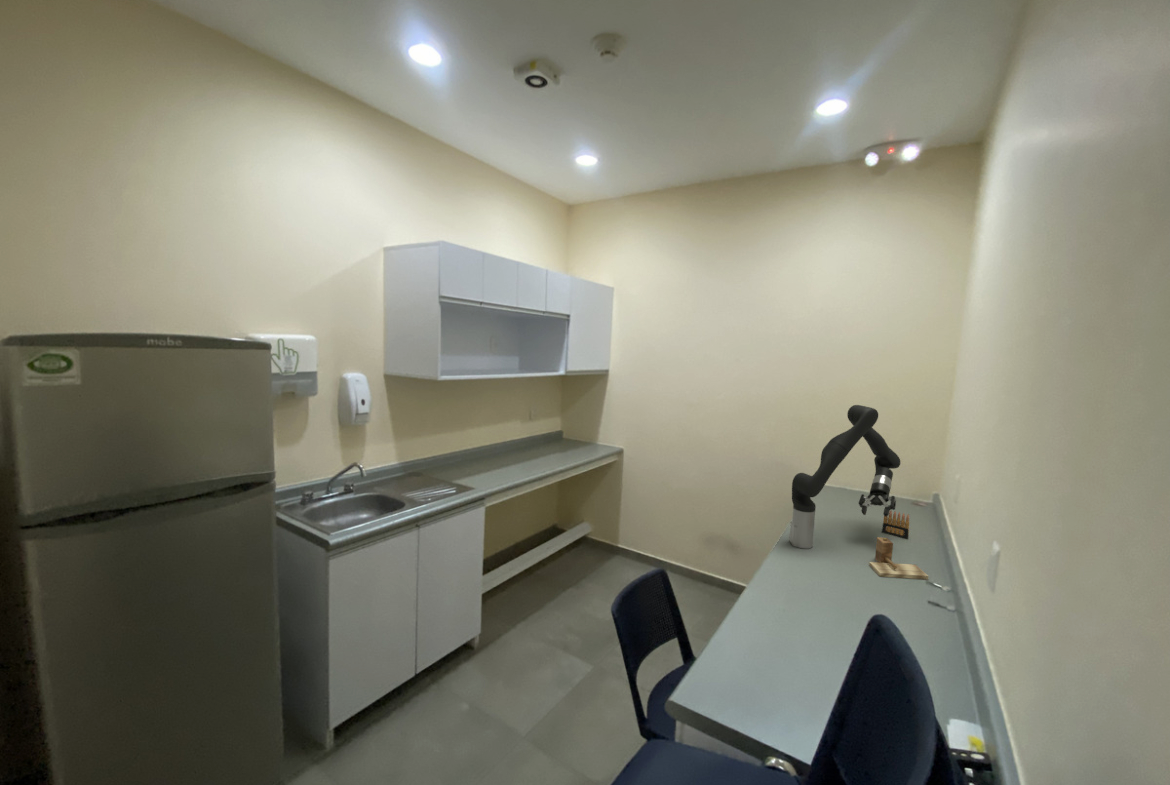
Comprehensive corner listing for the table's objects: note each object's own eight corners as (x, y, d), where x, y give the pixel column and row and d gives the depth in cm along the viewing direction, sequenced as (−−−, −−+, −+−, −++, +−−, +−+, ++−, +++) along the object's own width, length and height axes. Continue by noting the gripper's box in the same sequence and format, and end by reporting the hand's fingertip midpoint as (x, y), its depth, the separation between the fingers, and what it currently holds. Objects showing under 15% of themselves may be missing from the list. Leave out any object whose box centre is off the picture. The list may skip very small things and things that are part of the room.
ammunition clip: (908, 538, 223) (910, 514, 221) (907, 539, 221) (910, 515, 220) (882, 531, 230) (884, 508, 228) (881, 532, 229) (883, 509, 227)
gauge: (889, 574, 190) (892, 549, 188) (875, 559, 202) (877, 535, 201) (900, 574, 189) (903, 549, 188) (884, 559, 202) (887, 536, 200)
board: (879, 576, 188) (880, 572, 188) (869, 565, 197) (869, 561, 197) (928, 579, 186) (928, 575, 186) (915, 568, 195) (915, 564, 195)
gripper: (861, 481, 222) (854, 508, 214) (895, 482, 212) (889, 510, 203) (866, 491, 225) (859, 518, 216) (900, 493, 214) (895, 521, 205)
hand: (874, 514), depth 210 cm, fingers open, 8 cm apart
